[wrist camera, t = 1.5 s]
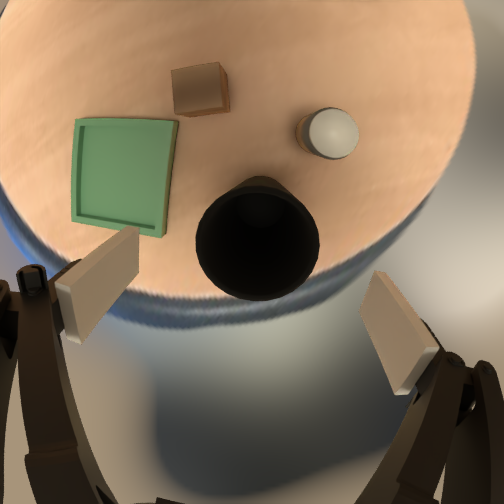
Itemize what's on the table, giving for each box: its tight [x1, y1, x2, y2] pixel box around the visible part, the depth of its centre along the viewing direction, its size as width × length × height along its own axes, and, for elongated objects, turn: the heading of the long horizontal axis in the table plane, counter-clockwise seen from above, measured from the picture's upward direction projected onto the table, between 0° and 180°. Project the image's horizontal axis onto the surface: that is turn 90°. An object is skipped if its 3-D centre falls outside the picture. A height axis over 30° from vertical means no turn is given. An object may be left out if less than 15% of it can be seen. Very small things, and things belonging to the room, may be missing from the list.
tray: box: [71, 118, 179, 238], centre depth 27 cm, size 12×12×2 cm
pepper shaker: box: [296, 107, 359, 160], centre depth 22 cm, size 4×4×8 cm
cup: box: [196, 176, 320, 301], centre depth 23 cm, size 8×8×12 cm
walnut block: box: [171, 62, 230, 117], centre depth 22 cm, size 4×4×5 cm
